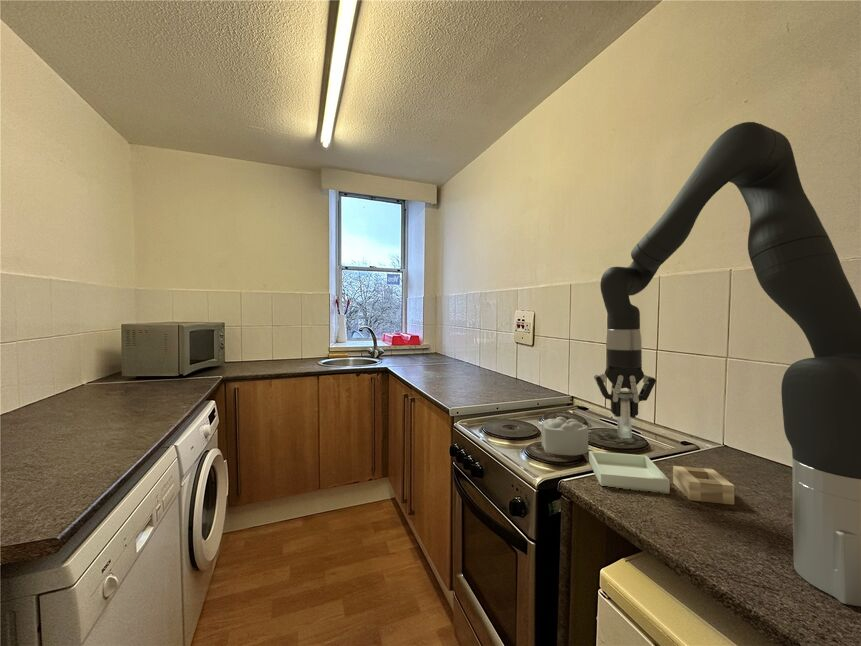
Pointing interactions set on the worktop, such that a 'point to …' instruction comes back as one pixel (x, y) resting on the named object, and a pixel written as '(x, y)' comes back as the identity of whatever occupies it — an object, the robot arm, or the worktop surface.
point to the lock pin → (624, 414)
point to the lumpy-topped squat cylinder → (564, 436)
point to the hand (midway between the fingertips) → (624, 416)
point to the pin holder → (703, 485)
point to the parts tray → (628, 472)
